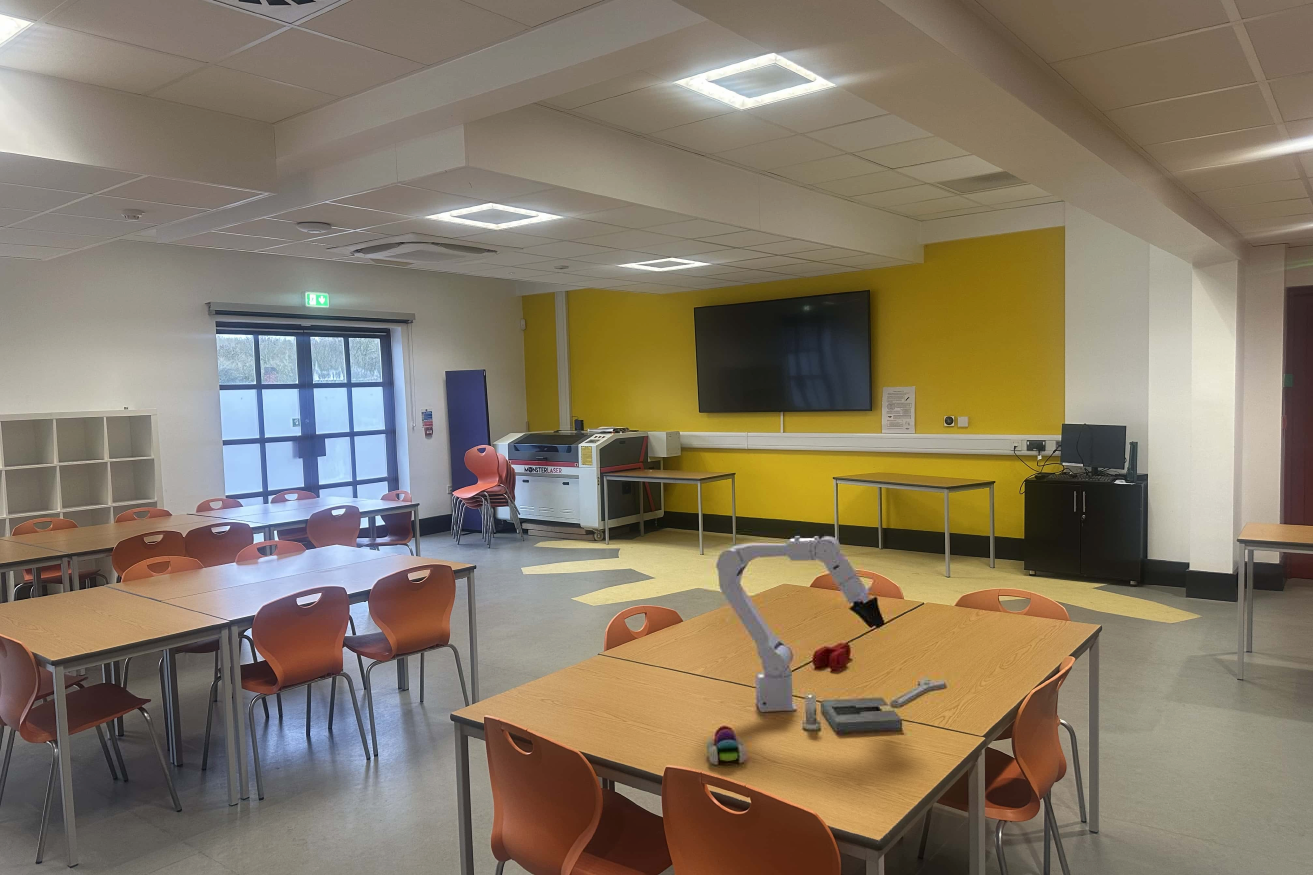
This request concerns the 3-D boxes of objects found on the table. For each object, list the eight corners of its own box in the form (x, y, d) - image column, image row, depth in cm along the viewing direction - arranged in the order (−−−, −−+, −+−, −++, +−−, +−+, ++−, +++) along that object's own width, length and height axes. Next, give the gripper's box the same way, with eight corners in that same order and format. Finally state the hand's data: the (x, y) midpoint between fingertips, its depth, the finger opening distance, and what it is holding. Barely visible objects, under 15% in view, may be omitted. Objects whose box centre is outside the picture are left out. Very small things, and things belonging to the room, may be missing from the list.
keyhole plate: (836, 734, 207) (836, 722, 207) (820, 710, 223) (820, 700, 223) (902, 730, 207) (902, 719, 207) (881, 707, 223) (881, 697, 223)
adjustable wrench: (897, 710, 223) (897, 703, 223) (876, 704, 228) (876, 697, 228) (949, 686, 239) (948, 680, 239) (928, 681, 244) (928, 675, 244)
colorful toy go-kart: (742, 750, 199) (741, 719, 199) (748, 767, 190) (747, 735, 189) (706, 752, 199) (705, 721, 199) (710, 769, 189) (708, 736, 189)
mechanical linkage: (834, 672, 255) (834, 655, 255) (812, 668, 259) (812, 652, 259) (857, 659, 267) (857, 643, 267) (836, 655, 272) (836, 640, 271)
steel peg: (804, 731, 209) (803, 699, 209) (800, 724, 214) (799, 693, 213) (822, 730, 209) (821, 698, 209) (818, 724, 214) (817, 692, 213)
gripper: (866, 569, 212) (898, 617, 210) (854, 572, 227) (883, 617, 224) (843, 585, 212) (874, 633, 209) (831, 586, 226) (861, 631, 223)
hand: (877, 626), depth 217 cm, fingers open, 7 cm apart
